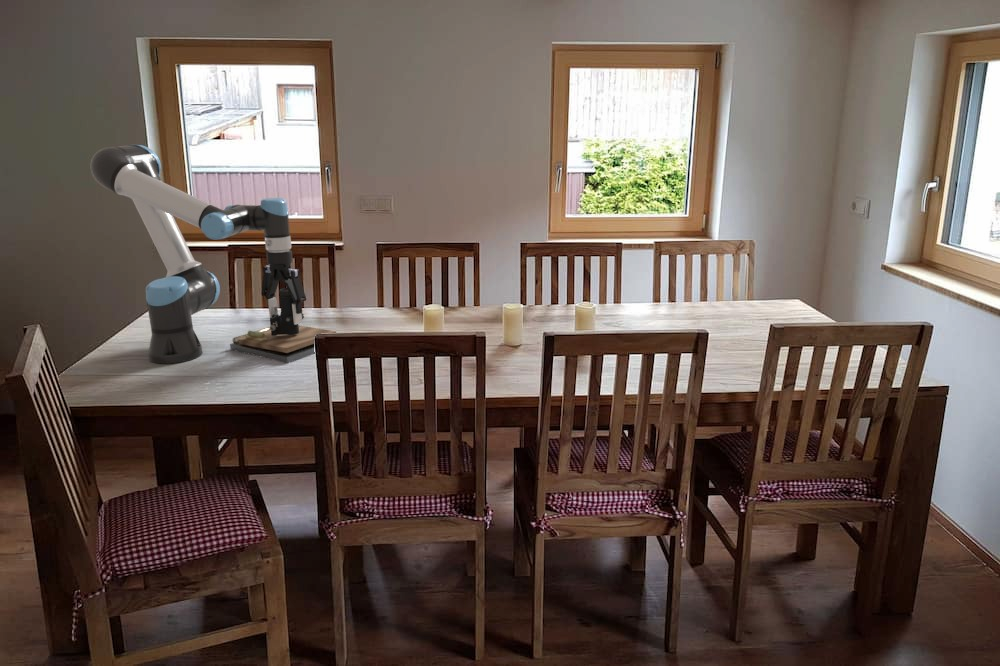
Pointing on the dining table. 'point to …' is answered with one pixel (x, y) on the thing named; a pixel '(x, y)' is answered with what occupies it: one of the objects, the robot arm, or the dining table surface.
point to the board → (282, 339)
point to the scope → (284, 316)
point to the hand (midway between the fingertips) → (286, 321)
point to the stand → (271, 353)
